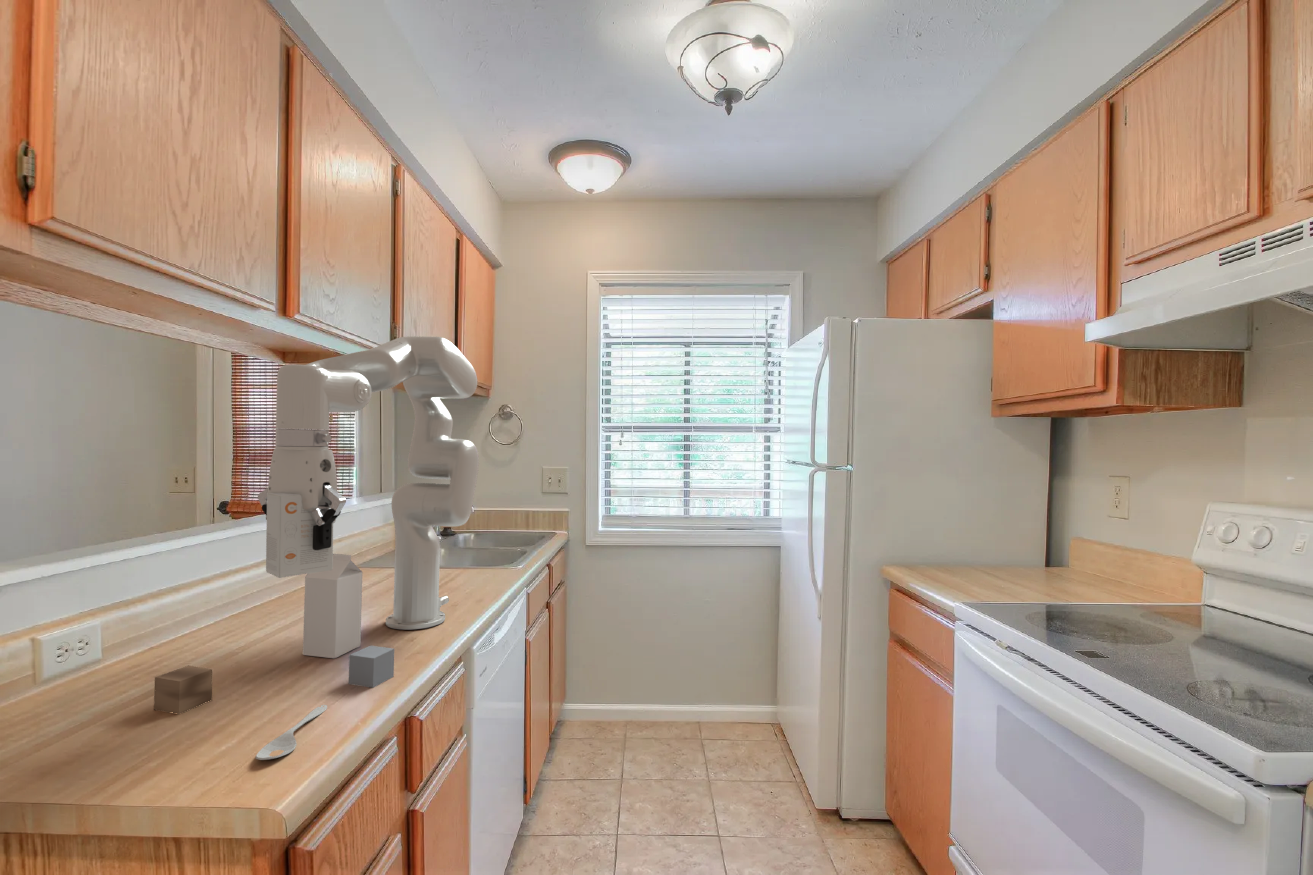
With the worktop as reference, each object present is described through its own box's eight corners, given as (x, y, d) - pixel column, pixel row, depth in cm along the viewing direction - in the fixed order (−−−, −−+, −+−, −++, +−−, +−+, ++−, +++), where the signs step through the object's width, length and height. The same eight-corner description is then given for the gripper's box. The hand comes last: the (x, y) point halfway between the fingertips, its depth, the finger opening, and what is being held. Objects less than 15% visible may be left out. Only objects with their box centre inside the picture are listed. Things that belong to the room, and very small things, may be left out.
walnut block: (187, 696, 95) (188, 665, 95) (211, 701, 94) (212, 669, 94) (153, 710, 90) (154, 677, 90) (178, 714, 89) (179, 681, 89)
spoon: (244, 771, 75) (244, 758, 75) (318, 700, 96) (318, 689, 96) (279, 770, 76) (279, 757, 76) (345, 699, 96) (346, 689, 96)
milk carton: (334, 659, 112) (337, 558, 112) (302, 655, 114) (305, 556, 114) (360, 646, 119) (363, 551, 119) (329, 643, 121) (332, 549, 121)
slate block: (369, 673, 106) (370, 645, 106) (393, 677, 105) (394, 648, 105) (348, 684, 101) (349, 654, 101) (373, 688, 100) (373, 658, 100)
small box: (318, 564, 103) (319, 489, 103) (333, 570, 99) (335, 492, 99) (264, 572, 97) (266, 492, 97) (278, 578, 93) (280, 495, 93)
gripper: (363, 442, 99) (360, 546, 99) (280, 439, 104) (278, 539, 104) (327, 442, 92) (324, 555, 92) (240, 439, 97) (237, 546, 97)
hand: (299, 546), depth 98 cm, fingers closed on small box, 8 cm apart
